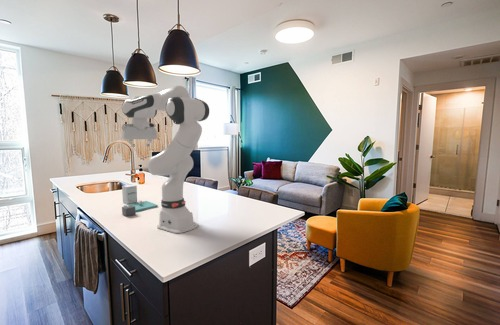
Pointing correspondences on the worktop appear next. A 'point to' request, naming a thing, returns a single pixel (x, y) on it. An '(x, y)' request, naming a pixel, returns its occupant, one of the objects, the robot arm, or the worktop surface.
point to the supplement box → (129, 194)
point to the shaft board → (143, 205)
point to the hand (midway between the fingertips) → (140, 146)
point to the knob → (128, 210)
